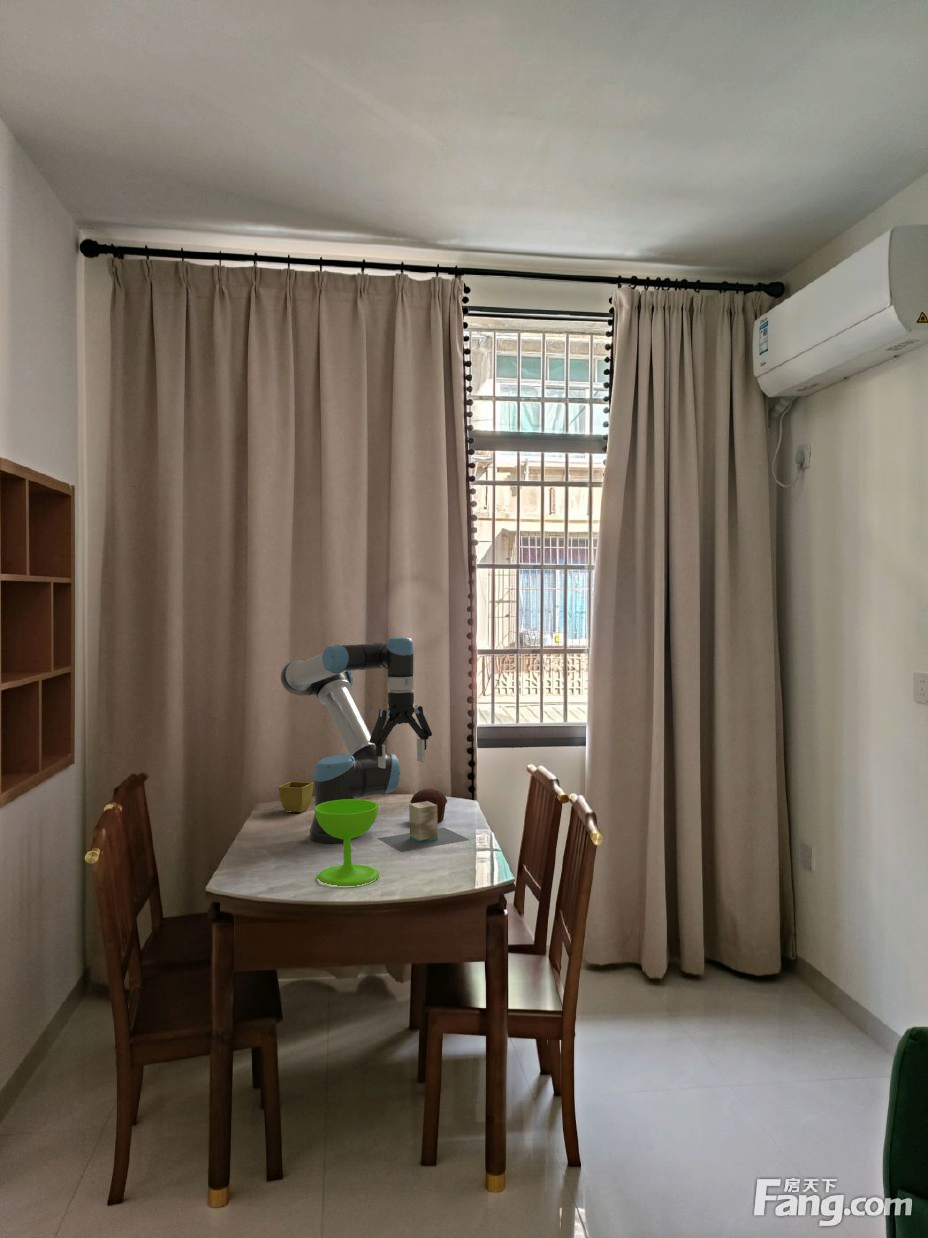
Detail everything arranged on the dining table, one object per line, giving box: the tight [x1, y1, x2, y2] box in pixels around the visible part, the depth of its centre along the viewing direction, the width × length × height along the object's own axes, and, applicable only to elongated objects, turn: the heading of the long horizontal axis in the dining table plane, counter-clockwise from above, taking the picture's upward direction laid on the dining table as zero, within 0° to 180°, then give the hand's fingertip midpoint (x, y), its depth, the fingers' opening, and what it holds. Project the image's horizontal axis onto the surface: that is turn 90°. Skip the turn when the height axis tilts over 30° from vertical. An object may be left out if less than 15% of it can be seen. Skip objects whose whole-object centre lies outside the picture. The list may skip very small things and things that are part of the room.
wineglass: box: [314, 798, 380, 886], centre depth 217 cm, size 16×16×18 cm
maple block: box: [408, 801, 439, 843], centre depth 249 cm, size 6×6×10 cm
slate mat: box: [377, 827, 471, 853], centre depth 249 cm, size 22×16×1 cm
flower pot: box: [277, 781, 314, 813], centre depth 286 cm, size 9×9×9 cm
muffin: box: [409, 788, 448, 824], centre depth 270 cm, size 12×11×10 cm
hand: (401, 764), depth 249 cm, fingers open, 13 cm apart
